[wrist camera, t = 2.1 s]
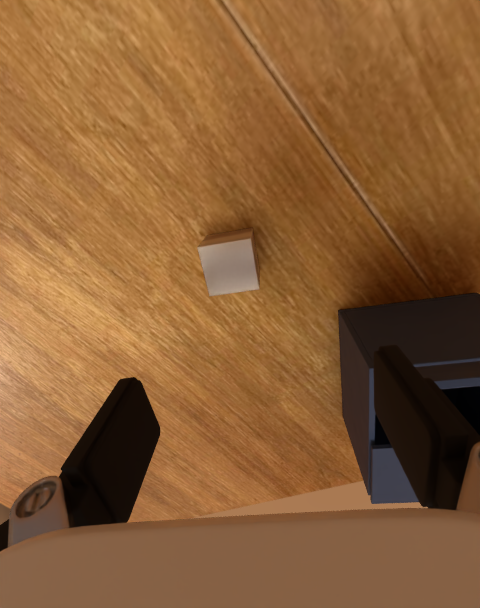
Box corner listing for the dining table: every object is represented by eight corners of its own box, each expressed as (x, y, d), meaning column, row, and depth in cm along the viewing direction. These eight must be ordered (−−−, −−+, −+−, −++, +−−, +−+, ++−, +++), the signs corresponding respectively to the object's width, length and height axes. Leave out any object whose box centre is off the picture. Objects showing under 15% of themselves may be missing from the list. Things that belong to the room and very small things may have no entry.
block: (206, 235, 27) (197, 247, 23) (252, 227, 26) (250, 238, 22) (216, 278, 29) (209, 296, 25) (259, 272, 28) (259, 289, 24)
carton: (338, 310, 29) (373, 375, 20) (476, 292, 28) (585, 355, 18) (342, 416, 36) (371, 504, 26) (456, 407, 34) (529, 499, 25)
